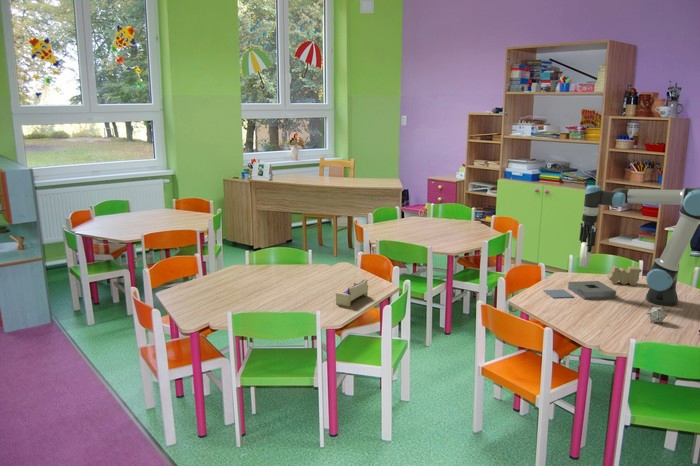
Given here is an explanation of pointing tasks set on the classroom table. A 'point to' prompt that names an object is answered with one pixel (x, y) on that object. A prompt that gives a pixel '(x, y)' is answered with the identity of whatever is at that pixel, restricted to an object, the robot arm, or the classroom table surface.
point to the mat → (558, 294)
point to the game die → (657, 314)
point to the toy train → (624, 275)
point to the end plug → (584, 261)
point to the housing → (591, 290)
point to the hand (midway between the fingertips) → (585, 256)
